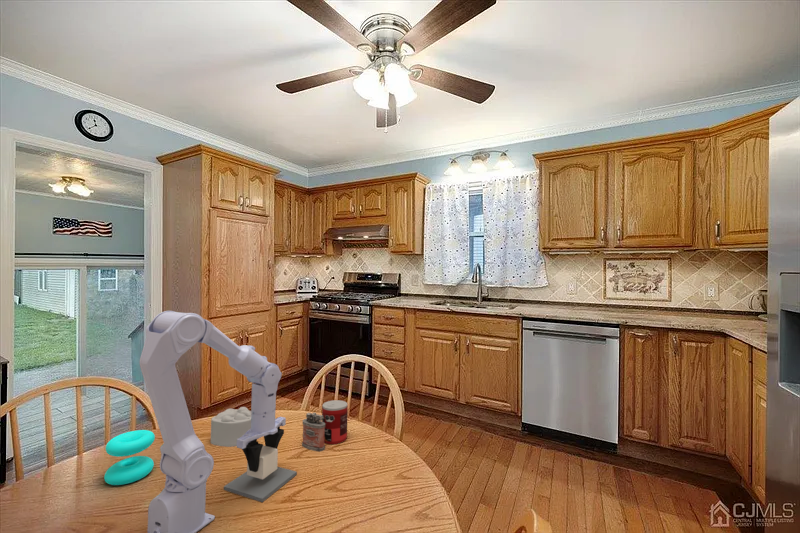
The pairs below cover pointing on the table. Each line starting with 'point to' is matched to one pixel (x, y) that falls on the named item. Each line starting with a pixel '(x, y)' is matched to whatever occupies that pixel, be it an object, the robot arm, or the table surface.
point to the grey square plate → (260, 484)
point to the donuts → (131, 466)
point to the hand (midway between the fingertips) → (262, 464)
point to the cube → (265, 463)
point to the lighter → (313, 432)
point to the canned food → (335, 421)
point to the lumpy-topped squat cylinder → (230, 426)
